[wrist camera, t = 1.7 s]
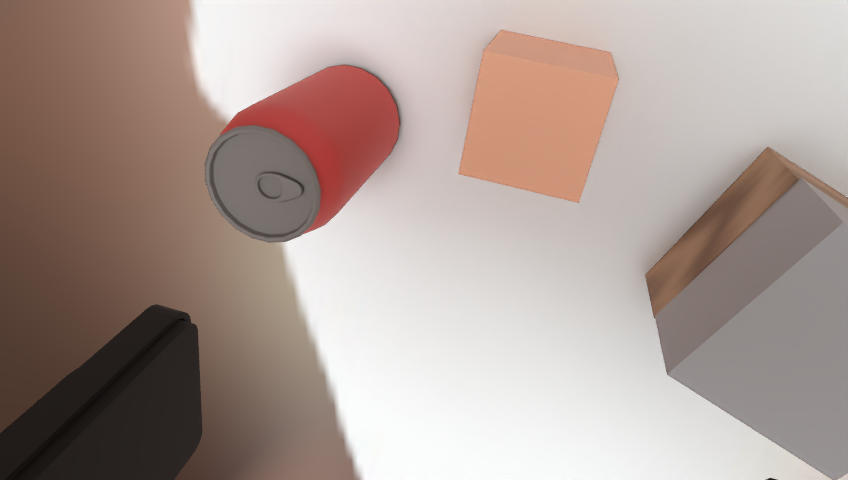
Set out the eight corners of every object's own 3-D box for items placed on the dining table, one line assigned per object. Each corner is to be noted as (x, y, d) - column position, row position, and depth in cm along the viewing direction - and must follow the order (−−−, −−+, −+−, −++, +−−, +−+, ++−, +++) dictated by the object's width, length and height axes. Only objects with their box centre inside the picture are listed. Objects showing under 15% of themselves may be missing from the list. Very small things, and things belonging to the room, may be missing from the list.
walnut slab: (766, 145, 31) (797, 177, 27) (915, 241, 32) (969, 288, 27) (644, 273, 36) (654, 317, 32) (775, 354, 37) (801, 409, 32)
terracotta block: (610, 52, 31) (618, 79, 25) (578, 156, 34) (578, 202, 28) (501, 29, 32) (483, 50, 26) (479, 133, 35) (458, 173, 28)
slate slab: (801, 177, 27) (843, 222, 23) (970, 290, 27) (1043, 355, 23) (654, 315, 32) (667, 374, 28) (800, 409, 32) (834, 481, 28)
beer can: (403, 171, 37) (335, 260, 26) (307, 163, 38) (206, 245, 28) (401, 65, 34) (323, 119, 23) (297, 60, 35) (179, 110, 25)
